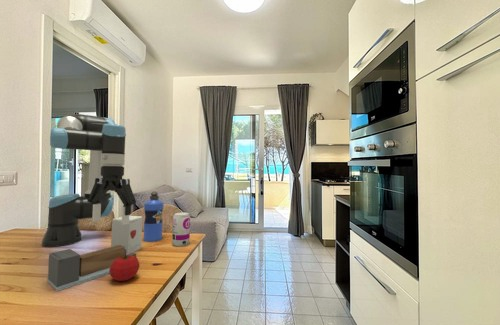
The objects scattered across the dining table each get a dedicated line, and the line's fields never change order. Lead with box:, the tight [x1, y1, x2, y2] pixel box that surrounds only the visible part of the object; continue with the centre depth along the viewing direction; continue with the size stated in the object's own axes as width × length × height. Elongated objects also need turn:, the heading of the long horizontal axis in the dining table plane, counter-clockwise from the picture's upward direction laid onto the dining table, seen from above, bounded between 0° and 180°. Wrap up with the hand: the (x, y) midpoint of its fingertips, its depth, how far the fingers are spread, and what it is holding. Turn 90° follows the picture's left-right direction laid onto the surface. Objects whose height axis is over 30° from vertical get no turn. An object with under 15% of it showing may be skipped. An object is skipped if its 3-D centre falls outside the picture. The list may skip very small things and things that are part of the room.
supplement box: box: [110, 215, 143, 255], centre depth 101 cm, size 9×9×15 cm
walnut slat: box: [79, 245, 125, 277], centre depth 81 cm, size 4×14×6 cm, turn 146°
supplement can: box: [171, 211, 191, 247], centre depth 112 cm, size 8×8×15 cm
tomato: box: [109, 254, 140, 282], centre depth 76 cm, size 9×9×8 cm
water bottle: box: [142, 191, 164, 243], centre depth 119 cm, size 9×9×25 cm
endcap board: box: [46, 248, 137, 292], centre depth 80 cm, size 10×24×9 cm, turn 145°
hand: (110, 222), depth 84 cm, fingers open, 13 cm apart
